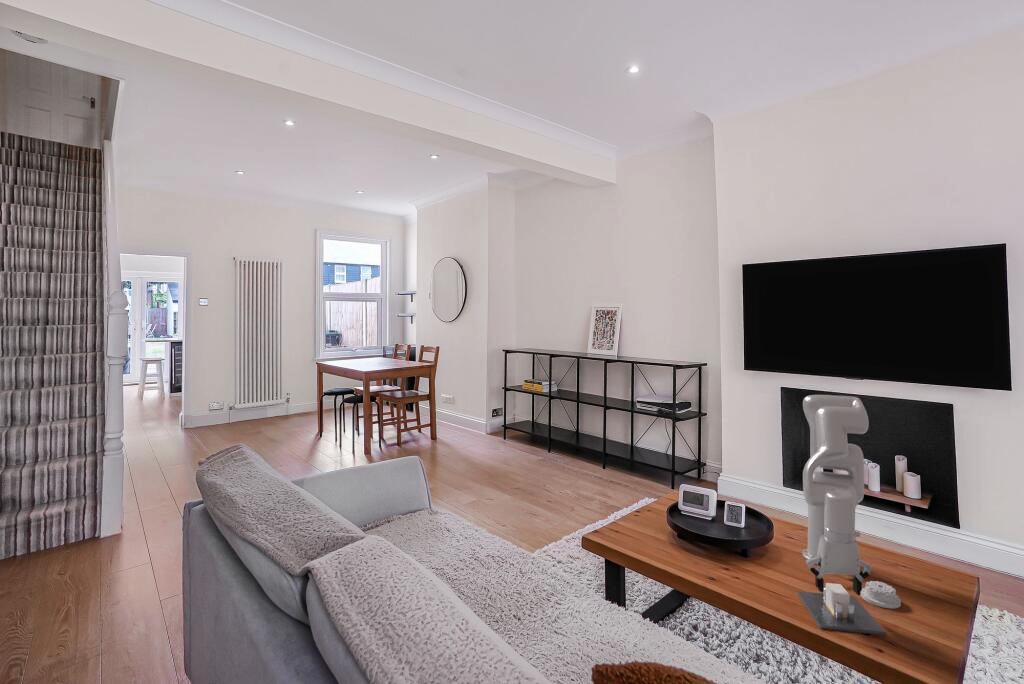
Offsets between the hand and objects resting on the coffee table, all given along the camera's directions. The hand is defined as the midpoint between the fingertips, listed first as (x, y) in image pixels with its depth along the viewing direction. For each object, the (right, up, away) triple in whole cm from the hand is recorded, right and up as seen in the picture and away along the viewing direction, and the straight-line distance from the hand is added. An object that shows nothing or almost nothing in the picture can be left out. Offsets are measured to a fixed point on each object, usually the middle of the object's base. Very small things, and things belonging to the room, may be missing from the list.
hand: (838, 591), depth 147 cm
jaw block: (0, -5, 0) cm, 5 cm away
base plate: (0, -6, 0) cm, 6 cm away
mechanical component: (+17, -6, +7) cm, 20 cm away
